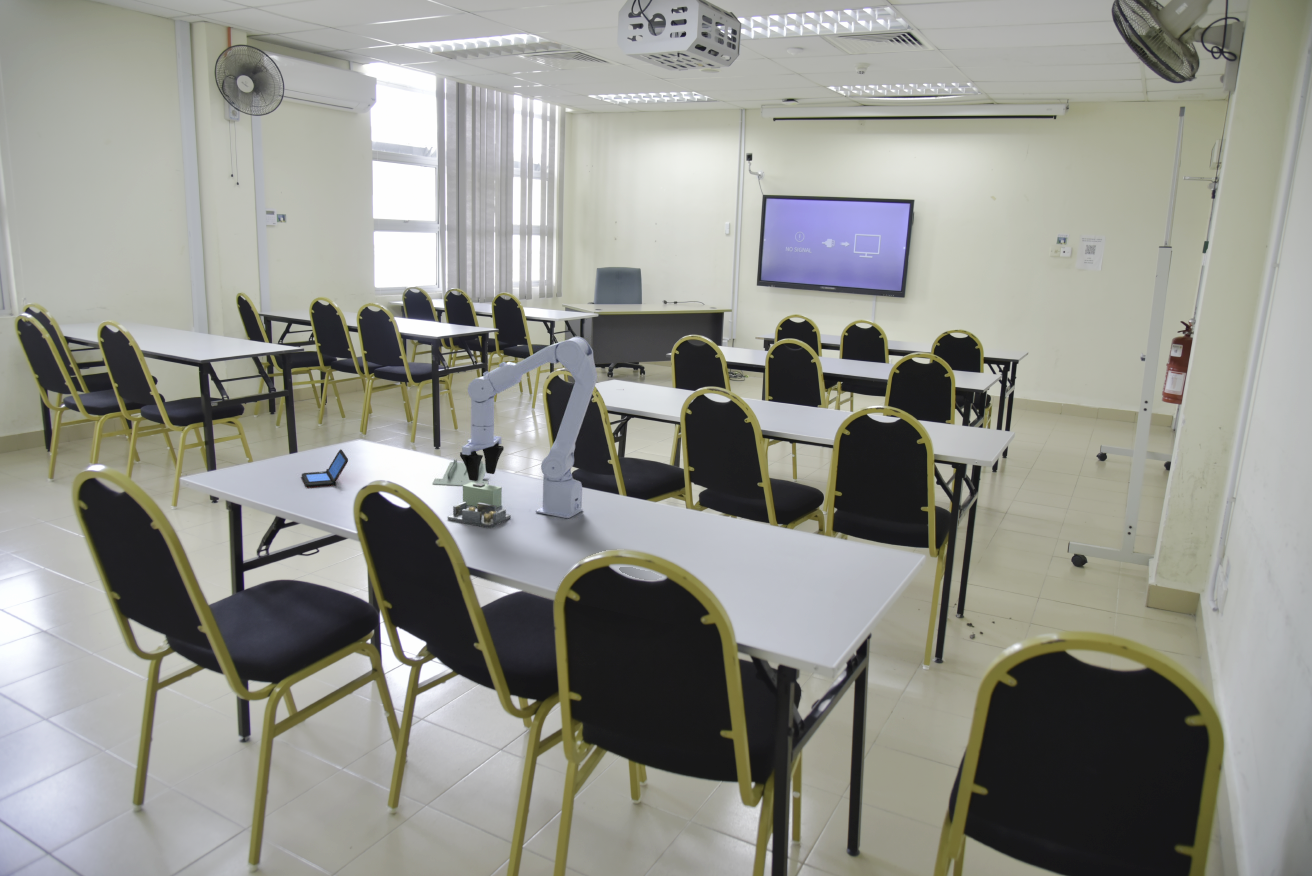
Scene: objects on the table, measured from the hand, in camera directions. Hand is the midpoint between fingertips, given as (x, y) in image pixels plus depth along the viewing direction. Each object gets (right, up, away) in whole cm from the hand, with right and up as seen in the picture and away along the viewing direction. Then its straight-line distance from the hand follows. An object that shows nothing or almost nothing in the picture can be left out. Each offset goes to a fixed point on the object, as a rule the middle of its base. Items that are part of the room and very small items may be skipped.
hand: (482, 476), depth 217 cm
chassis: (+1, -10, -10) cm, 14 cm away
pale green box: (0, -7, +2) cm, 8 cm away
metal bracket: (-9, -3, +23) cm, 25 cm away
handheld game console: (-46, -2, +16) cm, 49 cm away
